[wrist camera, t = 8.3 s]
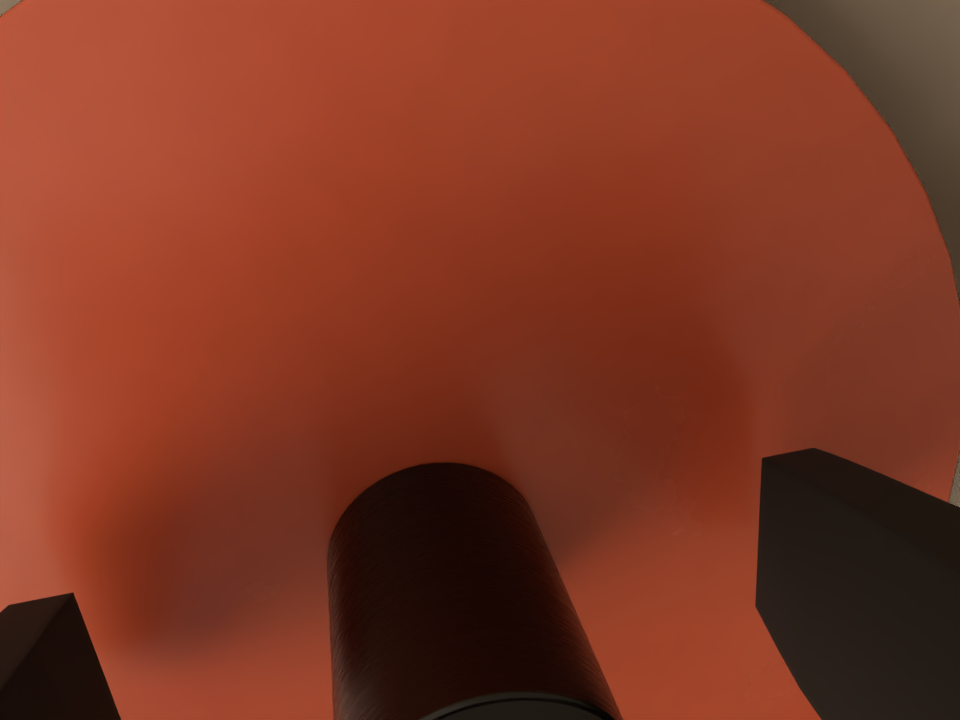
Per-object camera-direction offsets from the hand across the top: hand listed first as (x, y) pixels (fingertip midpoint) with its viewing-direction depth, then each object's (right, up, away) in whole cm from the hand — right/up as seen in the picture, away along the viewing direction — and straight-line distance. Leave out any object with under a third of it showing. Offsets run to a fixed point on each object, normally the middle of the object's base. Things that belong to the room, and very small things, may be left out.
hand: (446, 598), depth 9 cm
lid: (0, +1, +1) cm, 1 cm away
